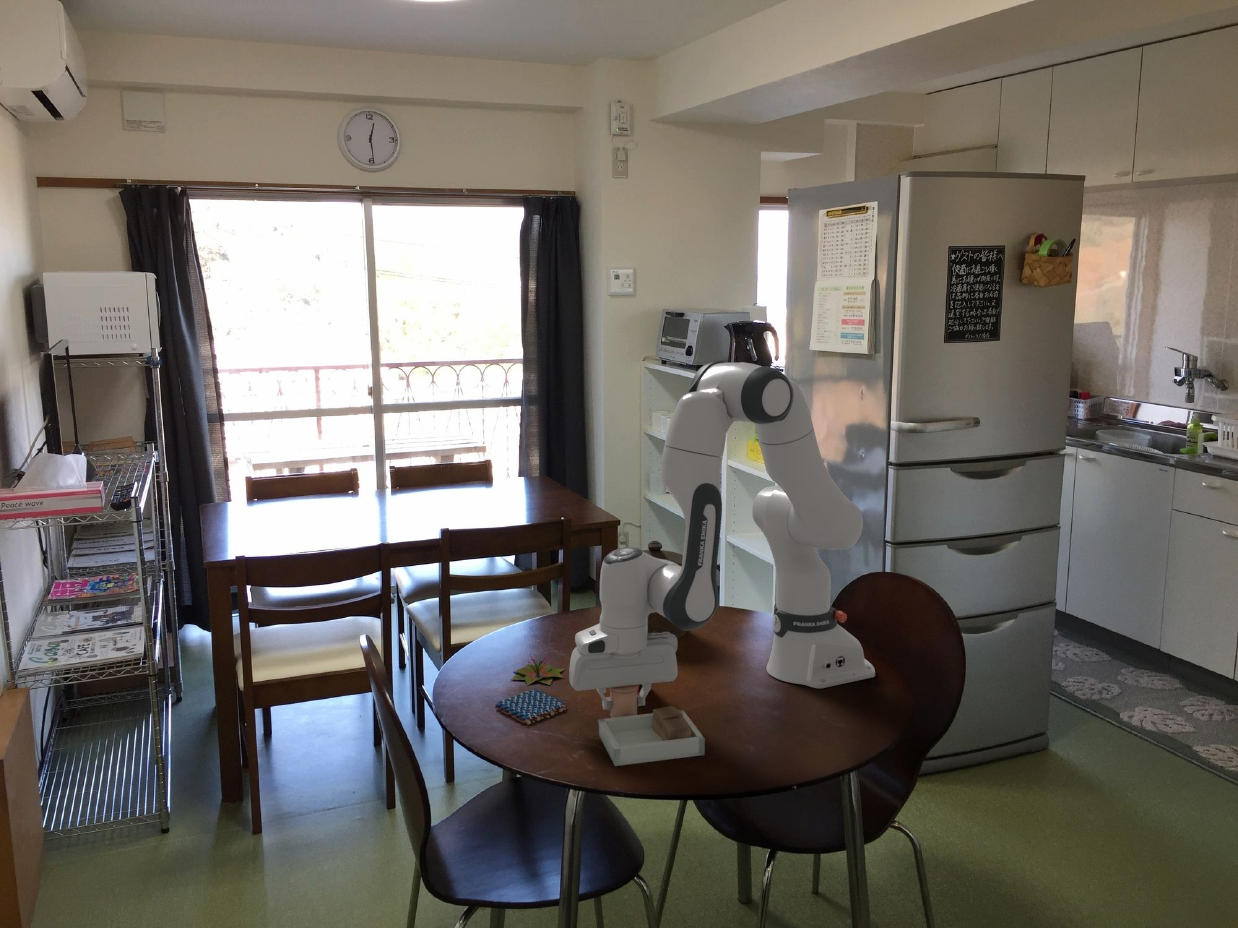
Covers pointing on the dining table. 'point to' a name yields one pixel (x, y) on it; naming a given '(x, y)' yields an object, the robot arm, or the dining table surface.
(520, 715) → the woven mat
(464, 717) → the dining table surface
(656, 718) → the block
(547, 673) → the lily flower
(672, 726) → the block
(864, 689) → the dining table surface
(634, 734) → the tray
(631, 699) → the pink lidded jar
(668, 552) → the wooden container
